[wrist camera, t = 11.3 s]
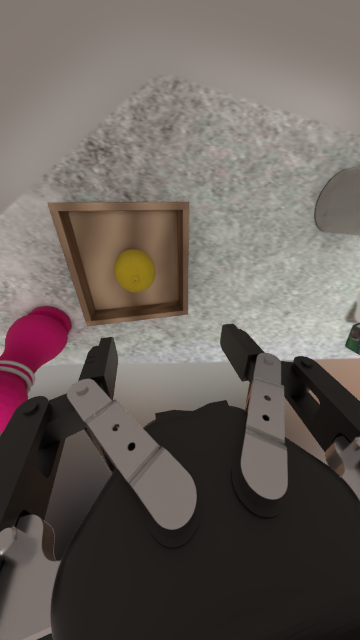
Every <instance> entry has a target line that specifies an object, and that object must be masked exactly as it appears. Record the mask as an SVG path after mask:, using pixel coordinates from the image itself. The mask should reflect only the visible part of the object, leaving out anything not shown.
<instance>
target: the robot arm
mask: <svg viewBox="0 0 360 640" xmlns="http://www.w3.org/2000/svg"><path fill="white" fill-rule="evenodd" d="M315 218H316V223H317V226H318V227H319V228H320V229H321V230H322V231H324V232H330V233H341V234H350V235H360V167H355V168H350V169H346V170H343V171H342V172H340V173H338V174H337V175H336V176H334V177H333V178H332V179H331V180H330V181H329V182H328V184H327V185H326V187H325V188H324V189H323V191H322V193H321V195H320V197H319V200H318V202H317V206H316V212H315ZM220 345H221V348H222V350H223V352H224V353H225V355H226V356H227V358H228V360H229V361H230V363H231V365H232V366H233V368H234V369H235V371H236V373H237V374H238V376H239V378H240V379H241V381H249V382H250V384H249V388H248V393H247V398H246V404H245V408H244V410H243V409H241V408H237V407H234V406H229V405H228V403H227V401H226V400H224V401H219V402H213V403H209V404H207V405H205V406H203V407H201V408H199V409H197V410H194V411H181V410H171V411H166V412H160V413H156V414H155V415H156V420H154V421H152V422H150V423H149V424H147V425H146V426H145V427H144V428H142V427H141V426H140V425H139V424H138V423H137V421H136V420H135V419H134V418H133V417H132V416H131V415H130V414H129V413H128V412H127V411H126V410H125V409H124V408H123V406H122V405H121V404H120V403H119V402H118V401H117V400H114V401H113V396H114V388H115V380H116V372H117V366H118V355H117V350H116V346H115V342H114V338H113V337H107V338H101V340H100V344H99V346H94V347H93V348H92V349H91V350H90V351H89V352H88V355H87V359H86V361H85V364H84V366H83V369H82V372H81V375H80V378H79V380H78V382H76V383H74V384H73V385H72V386H71V387H70V388H69V390H68V392H67V393H66V394H64V395H62V396H59V397H57V398H54V399H52V400H49V401H48V399H47V398H46V397H44V396H38V397H34V398H31V399H29V400H27V401H25V402H24V403H22V404H21V405H20V406H19V407H18V408H17V409H16V410H15V412H14V413H13V415H12V417H11V419H10V420H9V422H8V424H7V426H6V428H5V429H4V431H3V433H2V435H1V437H0V640H36V639H38V638H41V637H43V636H45V635H47V634H50V633H52V637H53V640H360V401H359V400H357V398H355V397H354V396H353V395H352V394H351V393H350V392H349V391H348V390H347V389H346V388H344V387H343V386H342V385H341V384H340V383H339V382H338V381H337V380H336V379H334V378H333V377H332V376H331V375H330V374H329V373H328V372H327V371H325V370H324V369H323V368H322V367H321V366H320V365H319V364H318V363H317V362H315V361H314V360H312V359H310V358H308V357H304V356H298V357H295V358H294V360H293V362H284V361H280V360H279V359H278V358H277V357H276V356H274V355H272V354H269V353H265V352H264V351H263V350H262V349H261V348H260V347H259V346H258V345H257V344H256V343H255V341H254V340H253V339H252V338H250V336H249V335H248V334H247V333H246V332H245V331H243V330H241V329H238V328H237V327H236V326H235V325H234V324H225V325H223V326H222V332H221V340H220ZM309 390H311V391H312V392H313V393H314V394H315V395H316V396H317V398H318V399H319V401H320V405H319V403H318V402H317V401H316V400H315V399H314V398H313V397H312V396H311V394H310V393H309ZM284 397H285V398H286V399H287V401H288V402H289V403H290V405H291V406H292V408H293V409H294V410H295V412H296V413H297V414H298V416H299V417H300V418H301V420H302V421H303V423H304V424H305V425H306V427H307V428H308V430H309V431H310V432H311V434H312V435H313V436H314V438H315V439H316V440H317V442H318V443H319V445H320V446H321V447H322V449H323V450H324V452H325V458H326V462H327V464H328V465H329V466H328V465H326V464H325V463H323V462H322V461H320V460H319V459H317V458H316V457H314V456H313V455H311V454H310V453H308V452H307V451H305V450H304V449H302V448H301V447H299V446H298V445H296V444H295V443H293V442H292V441H290V440H289V439H287V438H286V437H285V436H284V435H285V433H284ZM83 429H84V431H85V432H86V434H87V436H88V437H89V438H90V440H91V441H92V443H93V445H94V446H95V448H96V449H97V451H98V452H99V454H100V456H101V457H102V459H103V461H104V463H105V464H106V466H107V467H108V469H109V471H110V472H111V473H112V475H111V477H110V478H109V480H108V481H107V483H106V485H105V486H104V488H103V489H102V491H101V492H100V494H99V496H98V497H97V499H96V500H95V502H94V504H93V505H92V507H91V508H90V510H89V512H88V513H87V515H86V516H85V518H84V520H83V521H82V523H81V524H80V526H79V527H78V529H77V531H76V532H75V534H74V535H73V537H72V539H71V540H70V542H69V544H68V546H67V548H66V550H65V552H64V554H63V557H62V559H61V561H56V560H55V558H54V551H53V550H54V531H53V529H52V527H51V526H50V525H49V524H47V523H46V522H45V521H44V519H45V515H46V511H47V508H48V504H49V500H50V496H51V492H52V488H53V484H54V480H55V477H56V473H57V469H58V465H59V461H60V458H61V453H62V450H63V446H64V442H65V439H66V438H67V437H68V436H71V435H73V434H75V433H77V432H79V431H81V430H83Z"/></svg>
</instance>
